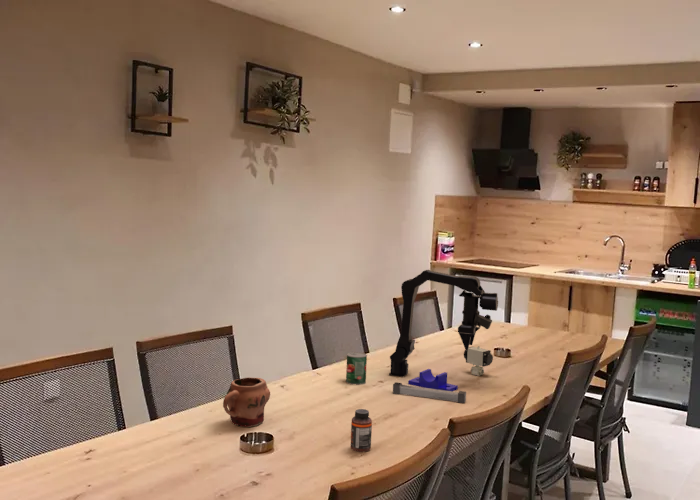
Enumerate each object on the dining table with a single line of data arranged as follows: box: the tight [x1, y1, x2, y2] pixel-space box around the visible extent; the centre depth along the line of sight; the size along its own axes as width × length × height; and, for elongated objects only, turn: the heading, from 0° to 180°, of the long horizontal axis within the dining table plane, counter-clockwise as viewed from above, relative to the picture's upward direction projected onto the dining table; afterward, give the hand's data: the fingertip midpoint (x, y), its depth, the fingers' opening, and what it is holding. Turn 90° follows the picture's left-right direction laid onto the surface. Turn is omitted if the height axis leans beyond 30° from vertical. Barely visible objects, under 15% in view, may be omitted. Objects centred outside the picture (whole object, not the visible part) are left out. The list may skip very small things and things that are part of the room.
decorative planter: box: [222, 377, 271, 428], centre depth 219 cm, size 20×12×14 cm, turn 154°
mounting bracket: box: [407, 368, 459, 392], centre depth 271 cm, size 18×7×6 cm, turn 54°
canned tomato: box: [345, 351, 368, 386], centre depth 273 cm, size 8×8×11 cm
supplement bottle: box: [350, 408, 373, 453], centre depth 202 cm, size 6×6×11 cm
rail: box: [392, 381, 467, 404], centre depth 256 cm, size 27×3×4 cm, turn 70°
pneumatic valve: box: [463, 346, 494, 377], centre depth 292 cm, size 6×12×12 cm, turn 46°
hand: (468, 347), depth 276 cm, fingers open, 9 cm apart
